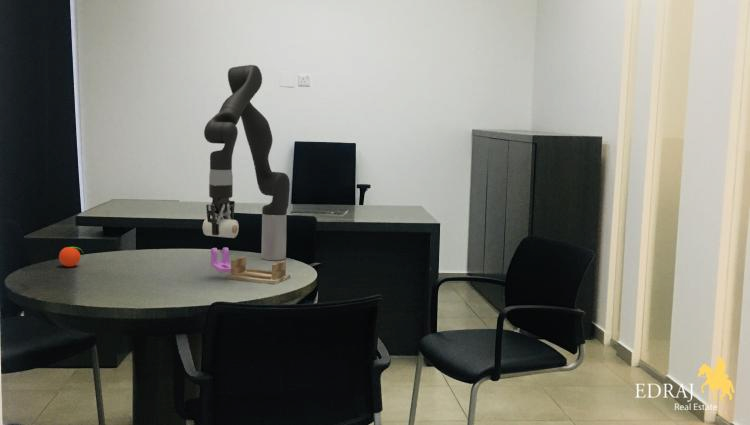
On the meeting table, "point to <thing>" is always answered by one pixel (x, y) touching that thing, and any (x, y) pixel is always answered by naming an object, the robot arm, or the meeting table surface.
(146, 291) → the meeting table surface
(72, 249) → the clementine
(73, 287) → the meeting table surface
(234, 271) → the cradle
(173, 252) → the meeting table surface
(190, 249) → the meeting table surface
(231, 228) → the roll
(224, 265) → the bracket
